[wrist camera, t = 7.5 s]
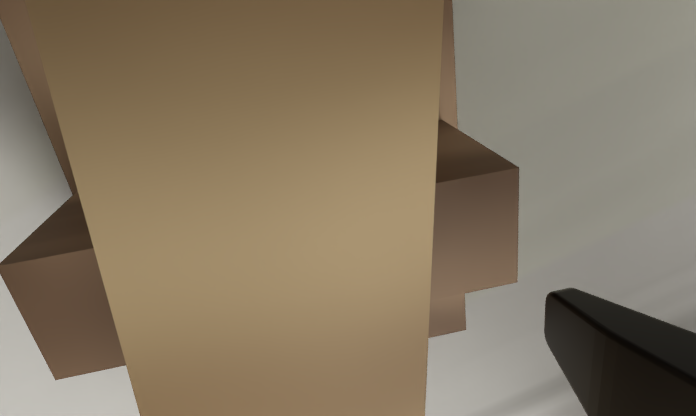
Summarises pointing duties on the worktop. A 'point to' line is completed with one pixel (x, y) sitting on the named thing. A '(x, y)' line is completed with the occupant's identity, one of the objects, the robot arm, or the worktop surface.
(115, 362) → the walnut board
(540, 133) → the worktop surface
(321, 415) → the oak bar
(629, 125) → the worktop surface
